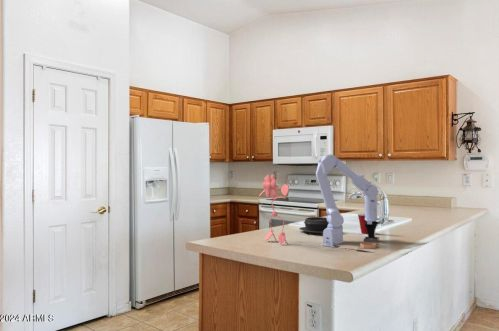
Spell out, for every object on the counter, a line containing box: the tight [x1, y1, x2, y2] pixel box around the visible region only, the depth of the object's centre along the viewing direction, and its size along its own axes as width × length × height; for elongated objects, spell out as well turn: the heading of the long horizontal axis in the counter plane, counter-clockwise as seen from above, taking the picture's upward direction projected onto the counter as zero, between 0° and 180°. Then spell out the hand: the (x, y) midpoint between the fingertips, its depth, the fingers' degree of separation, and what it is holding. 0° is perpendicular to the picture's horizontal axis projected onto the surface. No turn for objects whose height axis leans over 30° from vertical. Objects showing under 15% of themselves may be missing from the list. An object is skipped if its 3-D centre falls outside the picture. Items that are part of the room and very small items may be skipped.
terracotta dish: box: [359, 242, 376, 250], centre depth 172 cm, size 7×7×2 cm
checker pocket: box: [363, 236, 380, 243], centre depth 186 cm, size 7×7×2 cm
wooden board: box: [357, 239, 382, 254], centre depth 179 cm, size 23×8×2 cm, turn 156°
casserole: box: [299, 216, 329, 235], centre depth 222 cm, size 25×19×8 cm
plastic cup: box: [357, 213, 379, 235], centre depth 209 cm, size 11×11×12 cm
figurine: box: [258, 174, 290, 245], centre depth 193 cm, size 15×26×35 cm, turn 32°
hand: (371, 237), depth 186 cm, fingers closed on steel cell, 4 cm apart
